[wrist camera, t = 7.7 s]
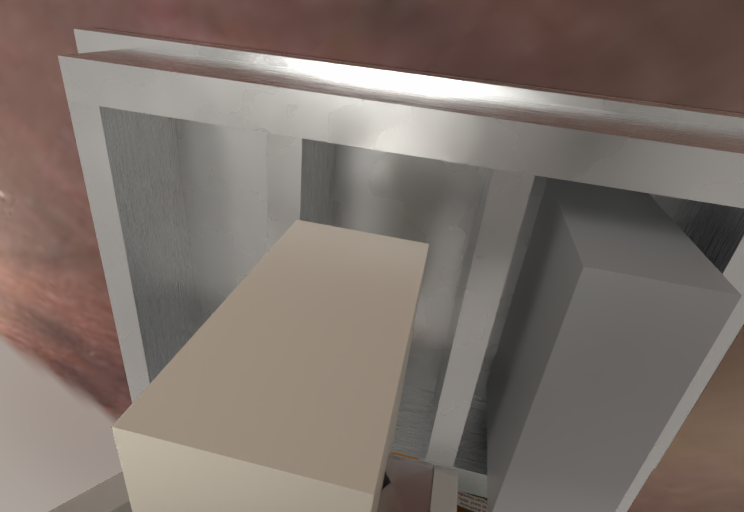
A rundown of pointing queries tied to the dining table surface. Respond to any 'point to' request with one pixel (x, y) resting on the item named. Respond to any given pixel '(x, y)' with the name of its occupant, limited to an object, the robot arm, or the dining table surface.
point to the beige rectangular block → (283, 384)
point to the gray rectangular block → (595, 348)
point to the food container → (471, 503)
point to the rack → (371, 198)
